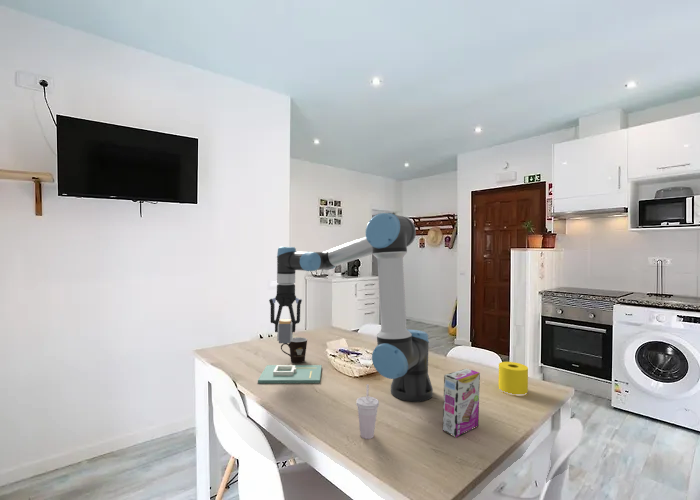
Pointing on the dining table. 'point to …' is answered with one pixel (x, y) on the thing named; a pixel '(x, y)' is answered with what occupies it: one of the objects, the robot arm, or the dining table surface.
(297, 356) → the coffee mug
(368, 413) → the smoothie
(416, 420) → the dining table surface
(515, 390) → the yellow toilet paper roll
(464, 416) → the candy bar box
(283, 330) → the plug
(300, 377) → the board
